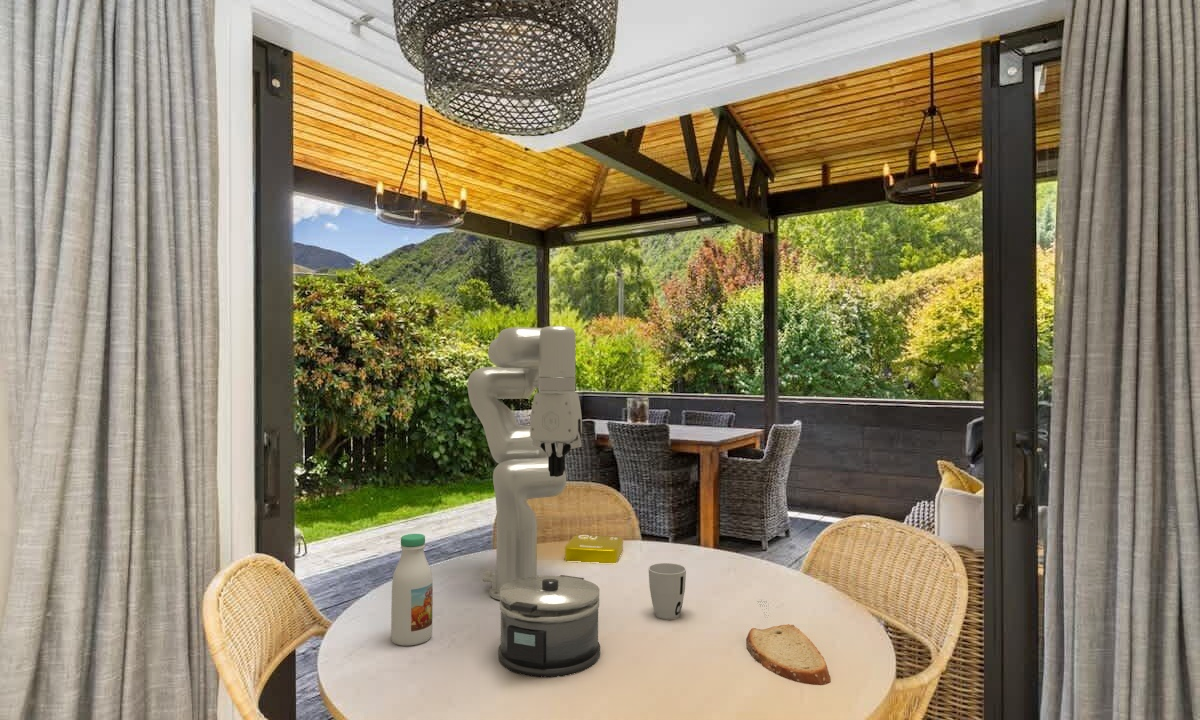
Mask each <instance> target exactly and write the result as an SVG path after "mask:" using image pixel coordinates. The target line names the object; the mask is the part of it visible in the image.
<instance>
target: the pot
mask: <svg viewBox="0 0 1200 720" xmlns="http://www.w3.org/2000/svg"><path fill="white" fill-rule="evenodd" d="M599 609H600V598H599V599H598V600H597V601H596V602H595V603H593V604H591V605H588V606H585V607H581V608H577V609H570V610H560V611H539V610H535V611H534V612H532V613H529V612H523V611H516V610H511V605H509V604H506V603H505V602H503V601H502V600H501V599H500V600H499V610H500V644H499V646H498V650H497V651H498V653H497V656H498V661H499V663H500V664H501V666H502V667H503V668H504V669H506V670H508V671H511V672H513V673H515V674H518V675H521V676H525V677H531V678H558V677H557V676H560V677H566V676H565V675H567V676H570V674H571V675H575V674H578V673H581V672H583V671H585V669H586V670H588V669H590V668H591V667H593V666H594V665H595V664H596V663H597V662H598V661H599V660H600V658H601V644H600V641H599ZM598 659H599V660H598ZM592 665H593V666H592ZM589 667H590V668H589ZM587 668H588V669H587ZM574 673H575V674H574Z"/></svg>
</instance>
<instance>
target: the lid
mask: <svg viewBox="0 0 1200 720" xmlns="http://www.w3.org/2000/svg"><path fill="white" fill-rule="evenodd" d="M500 599H501V600H502V601H503V602H505V603H506V604H509V605H511V610H516V611H523V612H529V613H532V612H534V611H535V610H539V611H560V610H570V609H577V608H581V607H585V606H588V605H591V604H593V603H595V602H596V601H597V600H598V599H599V600H600V587H599V586H598V585H597V584H595V583H594V582H592V581H589V580H586V579H585V578H584V577H580V576H579V577H578V576H572V575H562V574H561V575H538V576H535V577H526V578H521V579H516V580H513V581H510V582H507V583H505V584H504V585H502V586H501V588H500Z"/></svg>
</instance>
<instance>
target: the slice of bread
mask: <svg viewBox="0 0 1200 720" xmlns="http://www.w3.org/2000/svg"><path fill="white" fill-rule="evenodd" d="M745 641H746V648H747V650H748V652H749V654H750V655H751V657H752V658H753V659H754V661H757V662H758V663H760V664H761V666H762V667H763V668H765V669H766V670H768V671H769V672H772V673H773V674H776V675H777V676H779V677H782V678H784V679H787V680H789V681H794V682H797V683H801V684H805V685H811V686H824V685H828V684H830V683H831V675H830V672H829V669H828V665H827V663H826V660H825V658H824V657H823V655H822V653H821V652H820V650H819V649H818V648H817V647H816V646H815V644H814V643H813V642H812V641H811V640H810V638H808V637H807V635H806V634H805V633H803V632H802V631H801V630H800V628H797V626H795V625H794V624H789V623H788V624H781V625H776V626H771V627H769V628H764V629H762V628H761V629H760V628H756V627H755V628H754V627H752V628H751V629H750V630H749V632H748V634H747V636H746V638H745Z"/></svg>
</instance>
